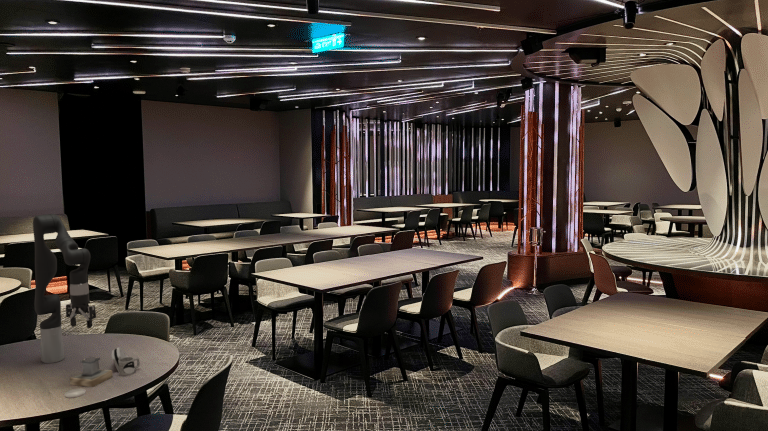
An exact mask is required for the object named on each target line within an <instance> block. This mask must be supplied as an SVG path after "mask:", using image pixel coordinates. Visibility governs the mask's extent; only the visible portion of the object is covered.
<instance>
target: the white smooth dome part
mask: <svg viewBox="0 0 768 431" xmlns="http://www.w3.org/2000/svg"><path fill="white" fill-rule="evenodd" d="M86 392H87V390H86V388H80V387H79V388H73V389H69V390H67V391H65V392H64V397H65V398H67V399H73V398H78V397H82V396H84V395H86Z"/></svg>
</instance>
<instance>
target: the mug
mask: <svg viewBox="0 0 768 431" xmlns="http://www.w3.org/2000/svg"><path fill="white" fill-rule="evenodd" d="M135 361H136V362H137V363H136V365H135ZM118 362H119V372H118V374H119V376H120V375H121V377H122V376H123V377H127V376H131V375H134V374H135V373H136V372H135V370H136V369H138V368H139V367H140V362H141V361H140V358H139V357H133V356H129V357H125V358H121V359H119V360H118Z"/></svg>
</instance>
